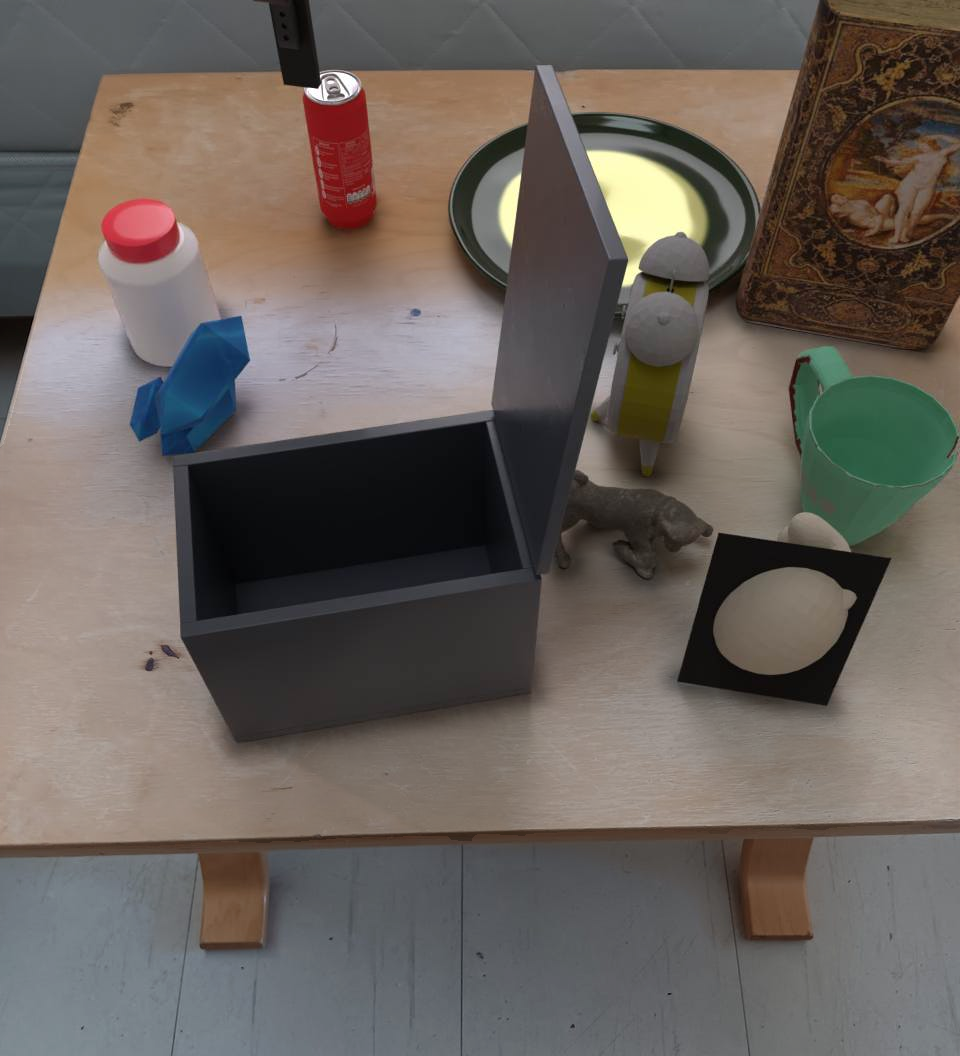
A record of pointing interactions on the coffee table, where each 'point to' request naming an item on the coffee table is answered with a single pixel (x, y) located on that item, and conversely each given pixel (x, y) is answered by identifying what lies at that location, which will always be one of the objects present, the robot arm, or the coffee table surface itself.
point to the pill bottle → (155, 278)
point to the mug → (865, 444)
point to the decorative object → (781, 612)
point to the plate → (617, 195)
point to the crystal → (194, 389)
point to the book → (865, 180)
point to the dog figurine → (631, 521)
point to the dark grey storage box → (355, 575)
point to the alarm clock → (658, 346)
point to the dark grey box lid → (553, 315)
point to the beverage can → (341, 149)
